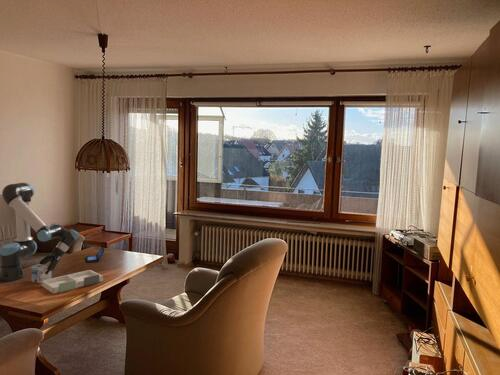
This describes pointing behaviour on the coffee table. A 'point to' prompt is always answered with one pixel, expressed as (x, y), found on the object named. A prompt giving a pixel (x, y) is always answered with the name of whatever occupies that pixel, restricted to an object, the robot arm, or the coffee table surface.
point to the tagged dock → (72, 281)
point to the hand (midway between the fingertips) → (37, 275)
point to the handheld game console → (95, 256)
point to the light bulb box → (39, 273)
